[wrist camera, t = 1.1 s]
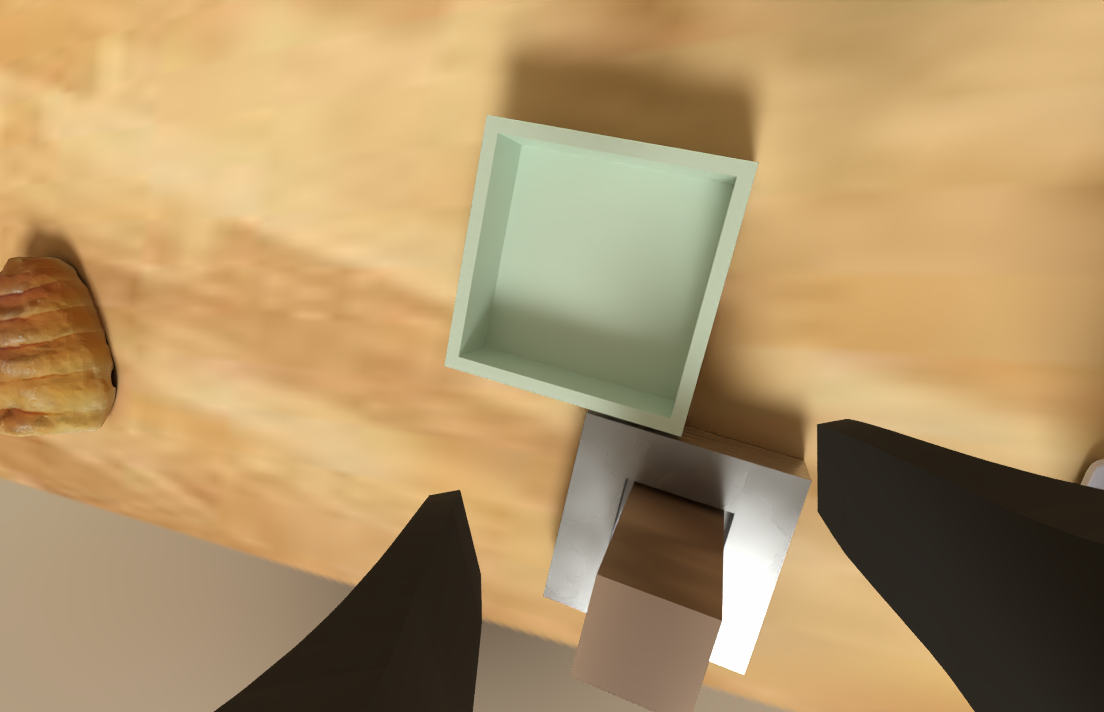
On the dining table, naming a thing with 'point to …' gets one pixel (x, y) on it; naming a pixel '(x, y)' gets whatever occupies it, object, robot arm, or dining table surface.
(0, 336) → the pastry
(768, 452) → the socket block
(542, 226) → the bin
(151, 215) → the dining table surface
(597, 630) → the strut
